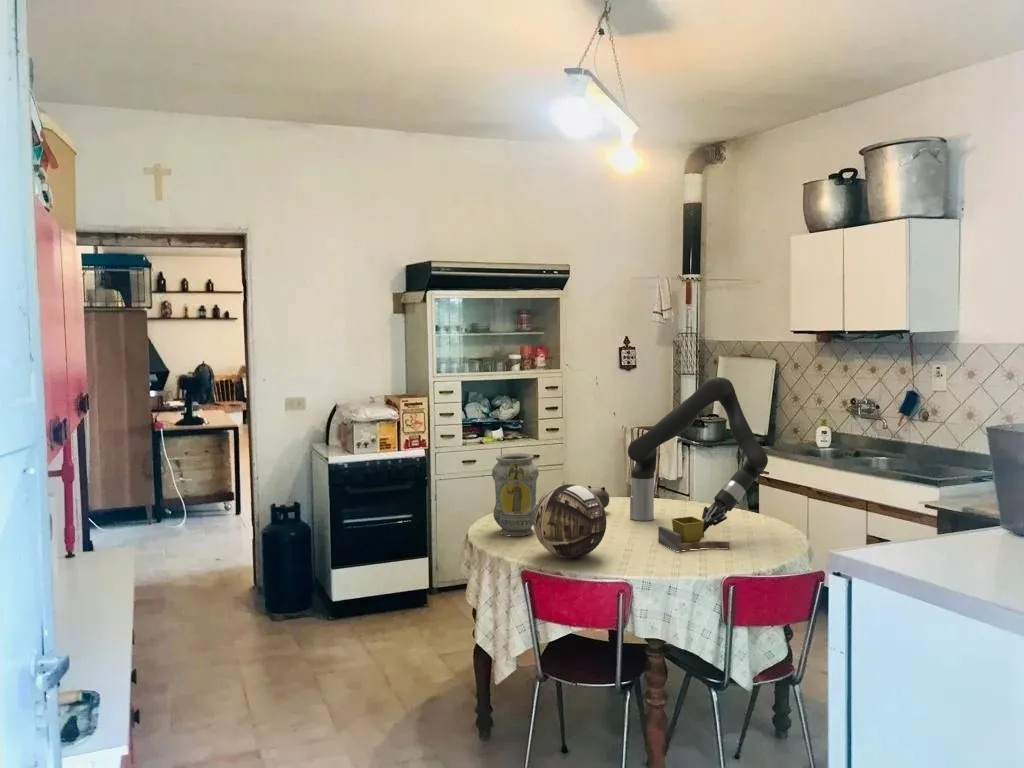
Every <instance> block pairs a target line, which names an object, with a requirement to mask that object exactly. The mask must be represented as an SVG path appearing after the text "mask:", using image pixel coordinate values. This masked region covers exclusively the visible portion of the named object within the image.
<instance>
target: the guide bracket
mask: <svg viewBox="0 0 1024 768" xmlns="http://www.w3.org/2000/svg"><path fill="white" fill-rule="evenodd" d="M657 527H658V528H657V529H658V531H657V533H658V535H657V537H658V541H657V543H658V542H659V544H660V543H661V544H660V545H662V544H663V545H662V546H664V545H665V546H664V547H666V546H667V547H666V548H668V547H669V548H668V549H670V548H671V549H670V550H672V549H673V550H672V551H674V550H675V551H674V552H676V551H682V550H690V549H700V548H728V549H727V550H730V541H723V540H722V541H721V540H717V541H716V540H707V541H706V540H705V541H700V542H693V543H682V544H681V535H680V534H678V533H676V532H674V531H673V529H672V530H671V529H670V528H667V527H665V526H663V525H659V526H657ZM702 537H704V538H705V532H704V533H703V534H702ZM682 552H683V551H682Z"/></svg>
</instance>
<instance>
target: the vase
mask: <svg viewBox="0 0 1024 768" xmlns="http://www.w3.org/2000/svg"><path fill="white" fill-rule="evenodd" d="M495 459H496V461H497V463H495V464H494V466H493V467H492V469H491V476H492V479H493V481H494V488H495V489H494V492H495V505H494V508H493V514H492V515H493V519H494V521H495V522H496V524H497V525H498V526H499V527H500V528H501V529H500V531H499V533H500V534H501V533H502V534H504V535H510V536H521V537H526V536H525V535H528V536H530V534H531V535H533V533H534V530H533V529H532V527H534V523H533V519H534V512H535V509H536V506H537V504H538V503H537V480H538V478H539V475H540V474H539V468H538V466H537V465H536V464H535V463H534V462H533V459H534V454H531V453H524V452H523V453H521V452H515V453H514V452H512V453H503V454H497V455H496V456H495ZM502 534H501V535H502ZM504 535H503V536H504ZM510 536H509V537H510Z"/></svg>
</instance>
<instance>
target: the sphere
mask: <svg viewBox="0 0 1024 768" xmlns="http://www.w3.org/2000/svg"><path fill="white" fill-rule="evenodd" d="M536 504H537V506H536V509H535V512H534V519H533V523H534V525H533V529H534V530H533V531H534V534H535V535H536V537H537V539H538V541H539V543H540V545H542V547H543V548H544V549H545V550H547V551H548V552H549V553H551V554H552V555H554V556H557V557H558V558H559V557H560V558H564V559H577V558H581V557H585V556H586V555H588V554H590V553H591V552H592V551H594V550H595V549H596V548H597V547H598V546H599V545H600V543H601V542H602V541H603V538H604V537H605V533H606V530H607V515H606V510H605V508H604V507H603V505H602V503H601V501H600V500H599V499H598V497H597V496H596V495H595V494H594V493H592V492H591V491H590V490H589V488H586V487H584V486H582V485H579V484H567V483H566V484H561V485H557V486H556V487H553V488H551V489H550V490H548V491H547V492H545V494H543V495H542V497H541V498H540V499H539V500H538V502H537V503H536Z"/></svg>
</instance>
